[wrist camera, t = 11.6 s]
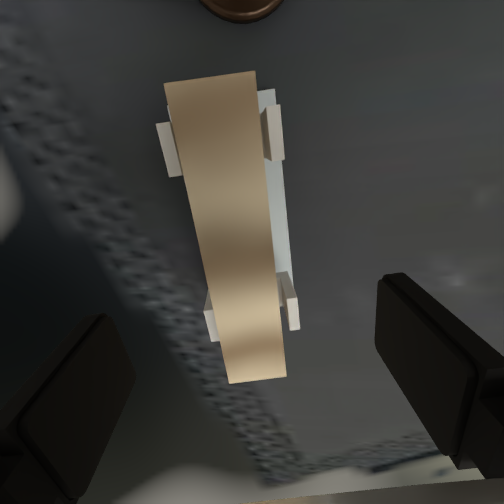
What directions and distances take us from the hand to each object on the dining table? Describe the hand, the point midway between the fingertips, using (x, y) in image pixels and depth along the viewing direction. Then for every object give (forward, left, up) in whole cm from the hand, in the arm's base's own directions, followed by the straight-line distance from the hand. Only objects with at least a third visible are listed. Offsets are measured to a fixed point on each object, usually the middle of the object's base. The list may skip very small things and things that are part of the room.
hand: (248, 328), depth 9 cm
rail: (0, 0, -13) cm, 13 cm away
